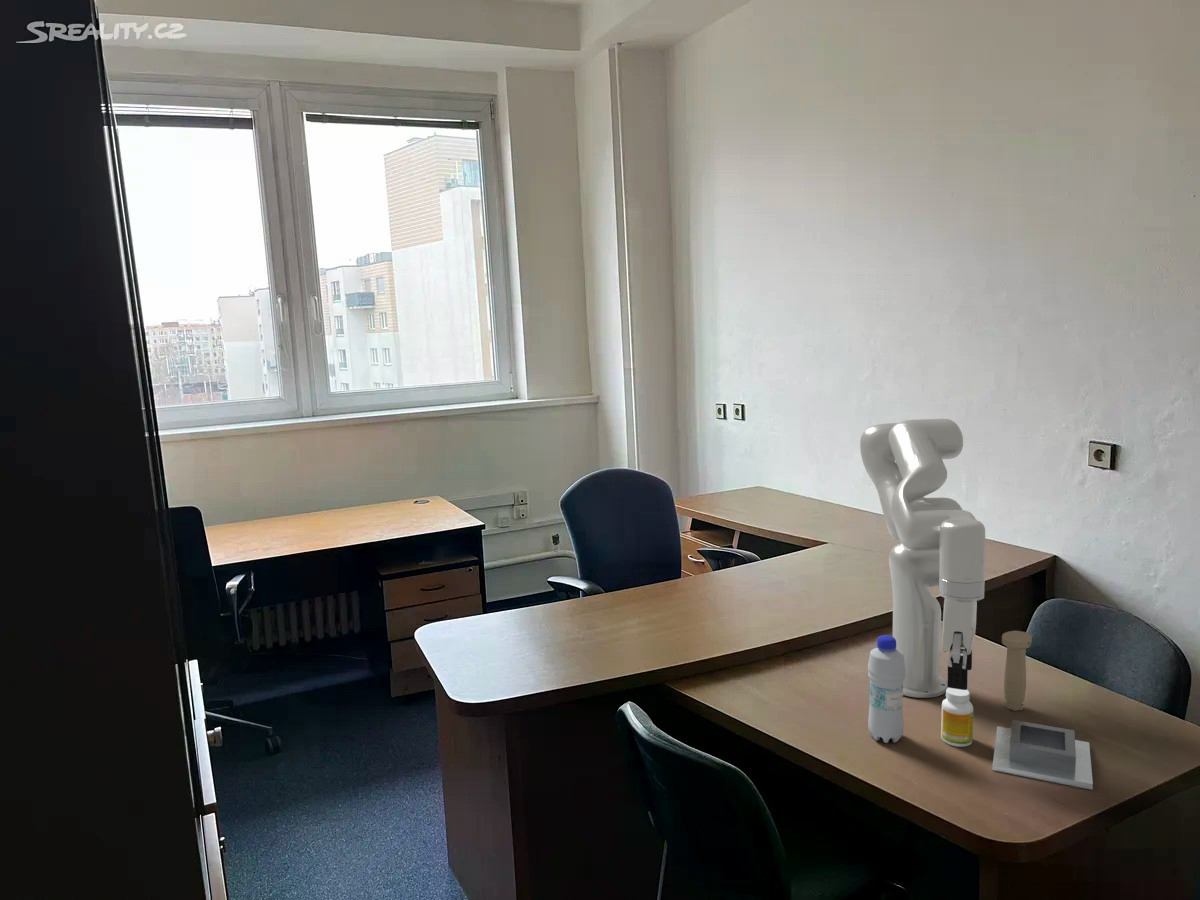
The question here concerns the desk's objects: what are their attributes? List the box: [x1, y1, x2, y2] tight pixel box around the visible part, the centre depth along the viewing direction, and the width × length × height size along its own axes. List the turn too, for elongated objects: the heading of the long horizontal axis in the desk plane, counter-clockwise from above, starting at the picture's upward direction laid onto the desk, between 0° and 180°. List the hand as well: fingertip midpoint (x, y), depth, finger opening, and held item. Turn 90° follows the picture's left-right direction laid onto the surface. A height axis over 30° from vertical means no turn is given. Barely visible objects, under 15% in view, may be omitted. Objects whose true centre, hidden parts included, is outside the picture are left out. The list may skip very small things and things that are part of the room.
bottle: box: [867, 634, 906, 744], centre depth 156 cm, size 7×7×20 cm
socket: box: [991, 719, 1094, 790], centre depth 148 cm, size 15×15×4 cm
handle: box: [1001, 630, 1033, 712], centre depth 166 cm, size 5×6×15 cm
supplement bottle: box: [940, 687, 974, 748], centre depth 155 cm, size 5×5×10 cm
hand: (959, 678), depth 153 cm, fingers open, 9 cm apart
